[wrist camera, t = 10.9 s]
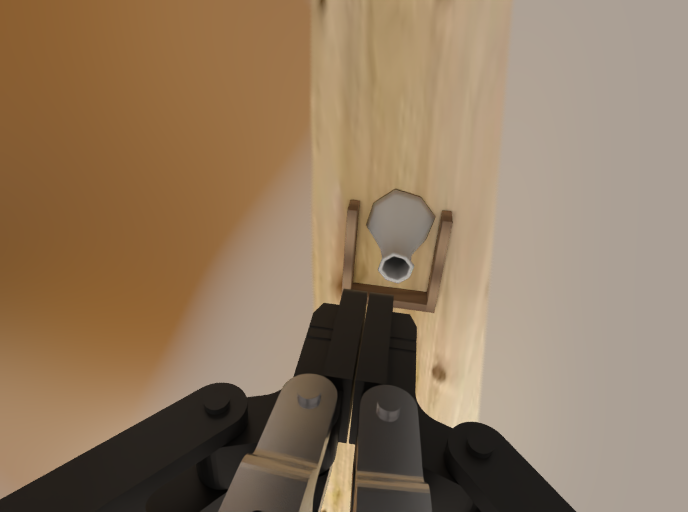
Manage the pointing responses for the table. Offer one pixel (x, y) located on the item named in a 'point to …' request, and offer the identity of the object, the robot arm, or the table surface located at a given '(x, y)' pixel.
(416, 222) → the flask
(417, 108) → the table surface
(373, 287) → the corral
